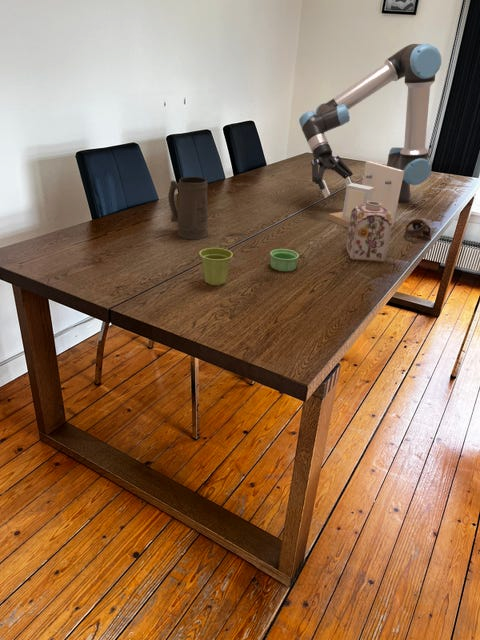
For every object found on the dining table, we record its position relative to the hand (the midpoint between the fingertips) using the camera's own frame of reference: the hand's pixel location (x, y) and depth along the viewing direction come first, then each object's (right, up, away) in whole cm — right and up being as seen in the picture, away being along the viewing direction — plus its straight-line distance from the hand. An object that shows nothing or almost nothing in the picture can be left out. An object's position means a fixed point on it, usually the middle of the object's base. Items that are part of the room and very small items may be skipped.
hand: (340, 194), depth 207 cm
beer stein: (-59, -20, -22) cm, 66 cm away
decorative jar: (+2, -28, -31) cm, 42 cm away
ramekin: (-27, -34, -44) cm, 62 cm away
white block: (+5, -11, -4) cm, 13 cm away
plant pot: (-48, -39, -57) cm, 84 cm away
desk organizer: (+8, -12, 0) cm, 14 cm away
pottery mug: (+27, -19, -12) cm, 35 cm away
